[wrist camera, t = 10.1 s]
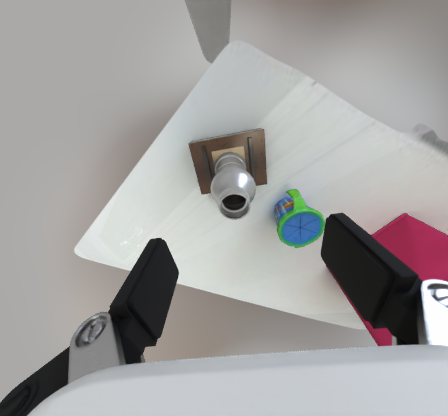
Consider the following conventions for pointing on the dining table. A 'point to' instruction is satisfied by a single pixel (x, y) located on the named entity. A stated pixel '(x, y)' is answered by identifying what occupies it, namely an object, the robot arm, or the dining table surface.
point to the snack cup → (297, 221)
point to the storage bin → (411, 257)
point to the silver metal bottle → (232, 186)
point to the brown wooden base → (236, 142)
